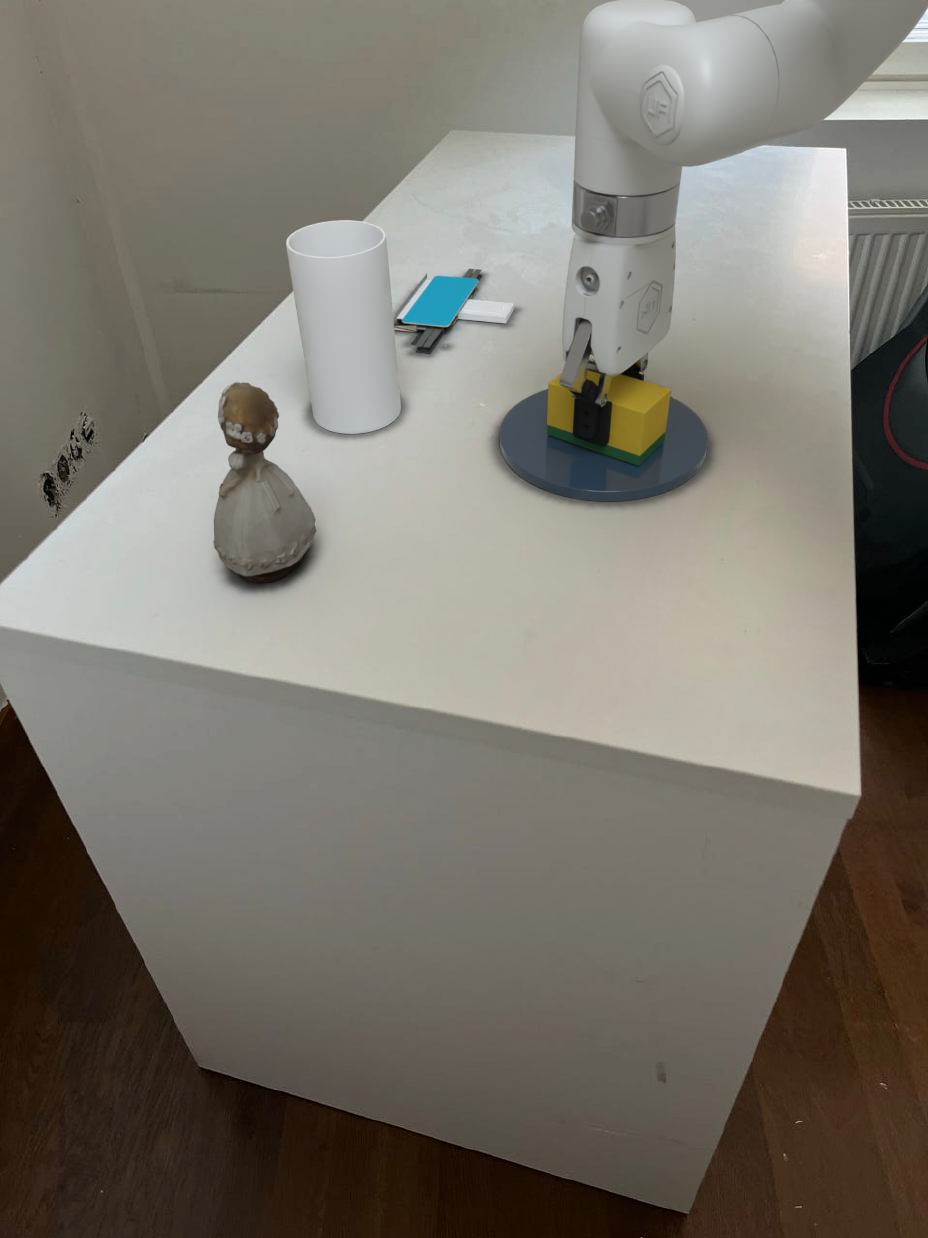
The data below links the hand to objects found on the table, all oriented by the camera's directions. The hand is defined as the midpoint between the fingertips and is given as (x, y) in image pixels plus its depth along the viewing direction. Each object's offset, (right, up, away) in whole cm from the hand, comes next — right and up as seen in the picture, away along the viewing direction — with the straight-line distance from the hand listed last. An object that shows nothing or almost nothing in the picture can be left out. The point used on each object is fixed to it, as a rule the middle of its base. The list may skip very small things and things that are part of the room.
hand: (606, 424), depth 80 cm
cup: (-22, +3, +8) cm, 24 cm away
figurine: (-27, -13, -8) cm, 31 cm away
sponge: (0, -1, +1) cm, 1 cm away
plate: (0, -1, +3) cm, 3 cm away
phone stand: (-13, +17, +23) cm, 31 cm away
